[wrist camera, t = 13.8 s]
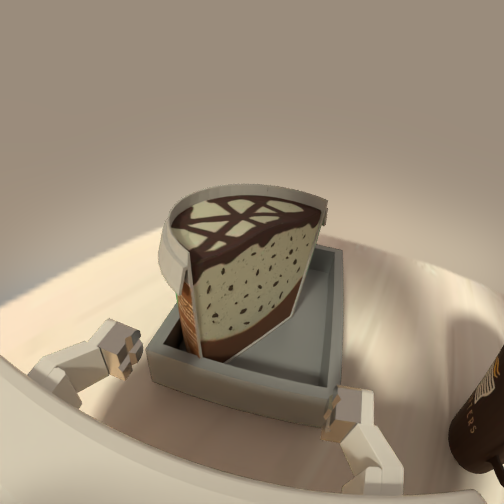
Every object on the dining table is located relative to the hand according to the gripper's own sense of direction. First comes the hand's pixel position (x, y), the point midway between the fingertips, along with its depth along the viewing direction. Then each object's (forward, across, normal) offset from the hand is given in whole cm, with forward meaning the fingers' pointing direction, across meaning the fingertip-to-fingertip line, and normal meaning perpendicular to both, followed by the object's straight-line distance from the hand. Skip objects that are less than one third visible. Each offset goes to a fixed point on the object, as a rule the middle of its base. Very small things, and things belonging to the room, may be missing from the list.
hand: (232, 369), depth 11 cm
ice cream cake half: (+9, +3, +7) cm, 12 cm away
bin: (+12, 0, +8) cm, 14 cm away
